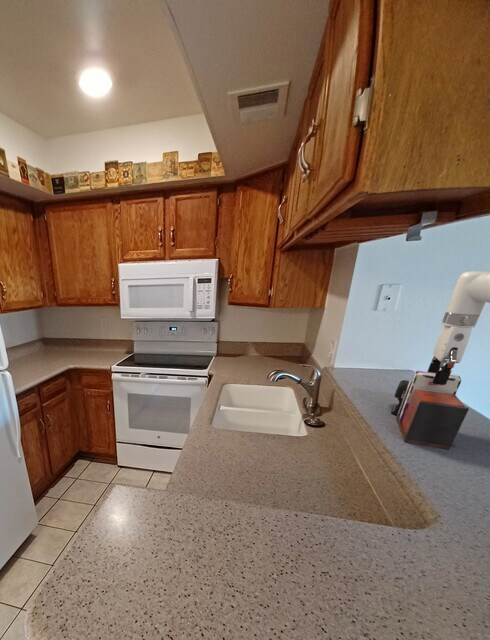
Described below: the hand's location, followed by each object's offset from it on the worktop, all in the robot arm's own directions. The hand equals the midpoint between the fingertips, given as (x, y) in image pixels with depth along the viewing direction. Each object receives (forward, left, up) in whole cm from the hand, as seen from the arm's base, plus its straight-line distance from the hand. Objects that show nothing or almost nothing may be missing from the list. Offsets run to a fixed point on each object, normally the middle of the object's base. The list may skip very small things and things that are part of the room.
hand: (435, 379), depth 100 cm
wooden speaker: (0, +6, -16) cm, 17 cm away
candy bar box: (0, 0, -15) cm, 15 cm away
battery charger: (+5, -9, -16) cm, 19 cm away
